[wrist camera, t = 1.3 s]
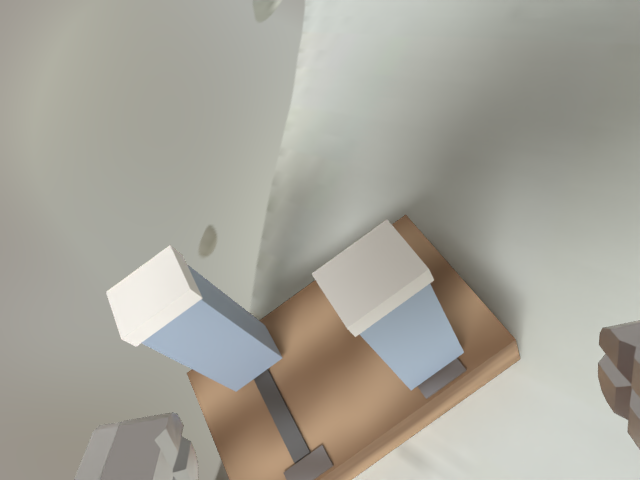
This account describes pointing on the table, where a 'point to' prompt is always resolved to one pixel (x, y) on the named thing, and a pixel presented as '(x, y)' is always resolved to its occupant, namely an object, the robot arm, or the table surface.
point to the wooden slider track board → (346, 385)
